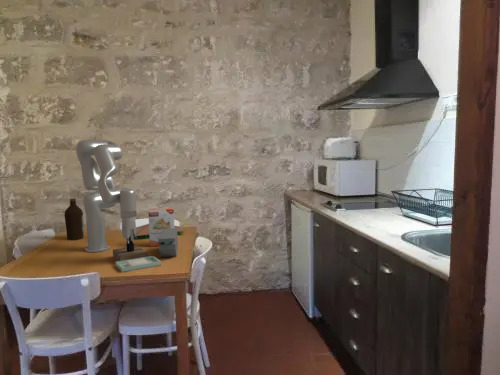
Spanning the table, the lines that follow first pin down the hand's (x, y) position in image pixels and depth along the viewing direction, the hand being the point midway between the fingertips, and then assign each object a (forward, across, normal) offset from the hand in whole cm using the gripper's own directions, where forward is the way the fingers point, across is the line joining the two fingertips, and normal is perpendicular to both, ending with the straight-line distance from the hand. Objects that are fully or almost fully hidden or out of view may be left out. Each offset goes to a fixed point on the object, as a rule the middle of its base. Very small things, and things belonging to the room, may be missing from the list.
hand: (130, 250), depth 195 cm
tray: (+4, +13, 0) cm, 14 cm away
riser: (+4, -2, 0) cm, 5 cm away
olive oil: (+5, -70, -16) cm, 72 cm away
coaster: (+2, +14, 0) cm, 14 cm away
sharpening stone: (+5, +1, +20) cm, 20 cm away
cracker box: (+5, -20, +23) cm, 31 cm away
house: (+5, -51, +29) cm, 59 cm away
